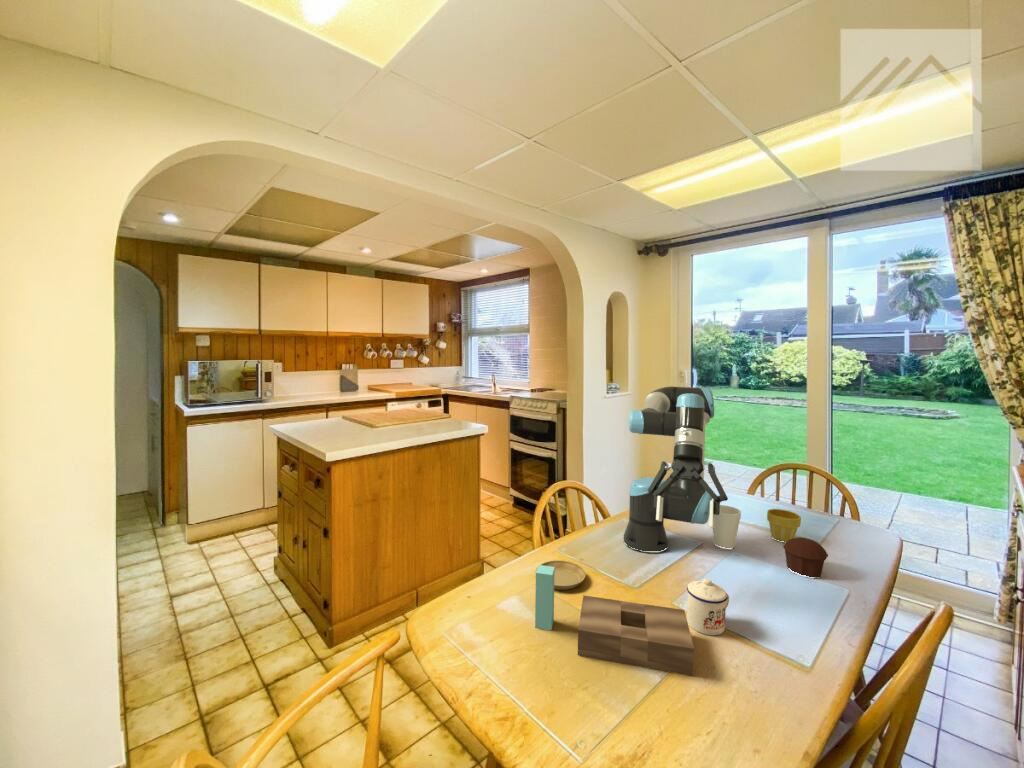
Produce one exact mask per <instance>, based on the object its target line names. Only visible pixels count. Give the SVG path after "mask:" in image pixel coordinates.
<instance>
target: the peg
mask: <svg viewBox="0 0 1024 768" xmlns="http://www.w3.org/2000/svg"><path fill="white" fill-rule="evenodd" d="M537 567H538V569H537V568H536V569H537V571H536V570H535V603H534V605H535V606H534V607H535V615H534V618H535V619H534V628H535V629H538V628H540V629H539V630H544V629H546V631H550V630H551V631H552V629H553V625H554V621H555V620H554V619H555V589H554V578H555V567H551V566H543V565H541V564H538V566H537Z"/></svg>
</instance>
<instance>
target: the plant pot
mask: <svg viewBox="0 0 1024 768" xmlns="http://www.w3.org/2000/svg"><path fill="white" fill-rule="evenodd" d="M766 514H767V515H766V517H767V518H766V519H767V521H768V523H769V529H770V536H771V538H772V537H773V538H774V539H776V540H779V541H784V542H787V541H788V540H790V539H793V538H796V533H797V531H798V528H800V527H801V523H802V522H801V521H802V516H801V515H800V514H798V513H796V512H794V511H790V510H786V509H781V508H770V509H768V510H767V513H766ZM774 539H773V540H774Z"/></svg>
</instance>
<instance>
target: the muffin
mask: <svg viewBox="0 0 1024 768" xmlns="http://www.w3.org/2000/svg"><path fill="white" fill-rule="evenodd" d="M782 548H783V549H784V554H785V559H786V560H785V562H786V568H787V567H788V568H790V569H791V570H792V571H794V572H797V573H799V574H801V575H806V576H809V577H820V578H821V575H822V573H823V568H824V565H825V561H826V560H827V559H828V556H829V554H828V553H827V550H826V549H825V548H824V547H823V546H822V545H821V544H820V543H819V542H817V541H815V540H813V539H810V538H807V537H800V536H798V537H794V538H793V539H790V540H788V541H787V542H786V543H783V545H782ZM788 568H787V569H788Z"/></svg>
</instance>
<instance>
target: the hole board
mask: <svg viewBox="0 0 1024 768" xmlns="http://www.w3.org/2000/svg"><path fill="white" fill-rule="evenodd" d="M689 626H690V625H689V624H688V622H687V613H686V612H685V609H680V608H674V607H666V606H659V605H653V604H646V603H645V604H644V603H639V602H638V603H637V602H631V601H626V600H624V601H623V600H618V599H611V598H605V597H595V596H590V595H583V596H582V603H581V609H580V615H579V623H578V628H577V656H578V655H580V656H579V657H583V656H585V657H584V658H589V657H590V659H594V660H602V661H606V662H611V663H612V662H613V663H616V664H617V663H619V664H623V665H629V666H635V667H640V668H646V669H651V670H658V671H664V672H668V673H674V674H679V675H686V676H689V677H693V676H694V664H695V647H694V642H693V638H692V634H691V631H690V627H689Z"/></svg>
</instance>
